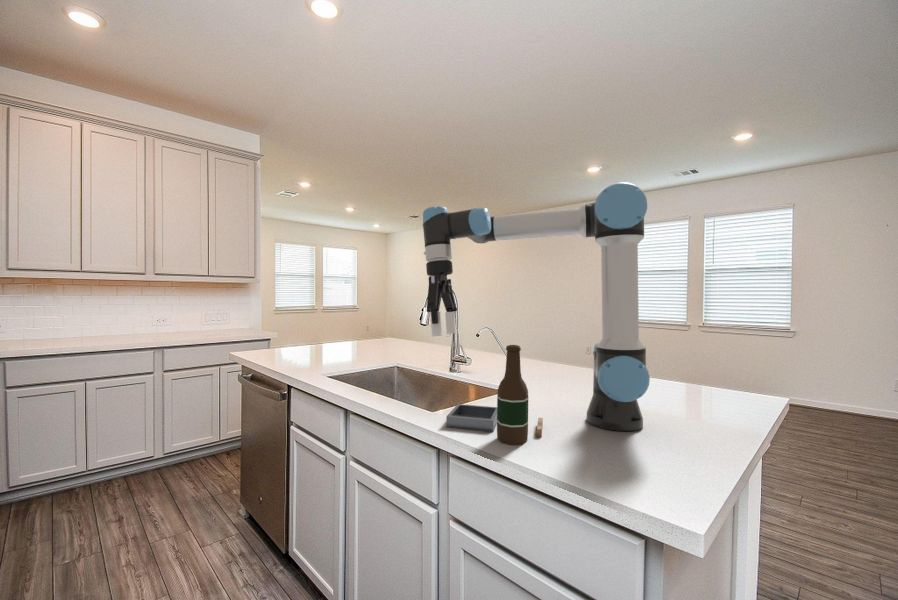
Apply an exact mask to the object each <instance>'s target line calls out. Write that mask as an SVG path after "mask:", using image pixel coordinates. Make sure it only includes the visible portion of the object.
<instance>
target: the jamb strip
mask: <svg viewBox="0 0 898 600" xmlns="http://www.w3.org/2000/svg"><path fill="white" fill-rule="evenodd" d="M543 422H544V419H543V417H538V419H537V425H536V438H542V434H543Z"/></svg>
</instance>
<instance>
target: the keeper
mask: <svg viewBox="0 0 898 600" xmlns="http://www.w3.org/2000/svg"><path fill="white" fill-rule="evenodd" d="M445 425H446V426H445V427H446V428H452V429H460V430H469V431H470V430H471V431H481V432H491V433H493V432H494V431H495V429H496V428H497V406H487V405H474V404H473V405H471V404H462V403H457V404H456V405H455V406H454V407H453V408H452V410H451V411H450V412H449V413H448V414H447V415H446V423H445Z"/></svg>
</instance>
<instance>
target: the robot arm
mask: <svg viewBox="0 0 898 600" xmlns="http://www.w3.org/2000/svg"><path fill="white" fill-rule="evenodd" d="M647 211H648V200H647V197H646V194H645V193H644V191H643V190H642V189H641V188H640V187H639V186H638V185H635V184H633V183H630V182H624V181H623V182H617V183H613V184H611V185H608V186H607V187H605V188H604V189H603V190H602V191H601V192H600V193H599V195H598V196H597V197H596V200H595V202H592V203H583V204H582V205H581V206H580V207H577V208H566V209H556V210H547V211H546V210H545V211H536V212H526V213H516V214H514V213H513V214H505V215H495V216H491V215H490V211H489V210H488V208H486V207H473V208H471V209H466V210H459V211H454V212H449V211H448V208H446V207H445V206H441V205H439V206H436V205H435V206H429V207H427V208H425V209H424V210H423V212H422V229H423V240H424V241H423V242H424V252H423V255H424V256H425V261H426V264H425V266H426V267H425V269H426V275H427V276H428V290H427V302H426V312H427V313H430V326H431V337H441V336H443V326H442V324H443V323H442V315H441V314H442V312H441V311H440V308H441V301H442V302H443V306H444V308H445V311H446V312H445V314H444V315H445V326H446V327H445V328H446V334H447V335H449V334H456V333H457V328H456V326H457V325H456V315H455V312H458V308H457V305H456V300H455V296H454V295H455V294H454V292H453V291H454V290H453V286H452V279H451V278H449V279H448V275H452V274H453V272H454V271H453V262H452V259H453V255H452V248H451V247H452V246H451V240H456V239H462V238H463V239H465V238H468V239H469V240H471V241H472V242H473V243H476V244H480V245H481V244H486V243H489V242H495V241H507V240H509V241H510V240H520V239H536V238H546V237H548V238H550V237H560V236H561V237H562V236H575V235H576V236H578V235H581V236H582V237H583V238H594V242H596V243H597V244H598V245H599V246H600V249H601V250H600V252H601V254H600V255H601V258H600V261H601V264H600V265H601V321H602V323H601V326H602V329H601V330H602V332H601V333H602V339H601V340H600V341H599V342H598V343H597V342H596V344H594V347H593V352H592V353H593V379H592V380H593V385H592V386H593V388H592V392H593V393H592V397H591V399H590V402H589V405H588V408H587V409H586V417H585V418H586V422H588V423H589V424H590V425H593V426H594V427H597V428H601V429H605V430H609V431H617V432H633V431H634V432H635V431H639V430H641V429H643V427H644V417H643V414H642V411H641V408H640V405H639V401H638V399H640V398H642V397H643V396H644V395H645V394H646V393H647V391H648V389H649V386H650V381H651V380H650V378H651V377H650V374H649V370H648V368H647V356H646V355H647V354H646V353H647V351H646V349H647V348H646V345H644V343H643V342H642V341H641V340H640V335H639V334H640V328H639V327H640V326H639V324H640V321H639V317H640V316H639V313H640V312H639V259H638V258H639V253H638V252H639V248H638V247H639V246H638V245H639V244H640V243H641V242H642V241H643V239H644V238H645V216H646V214H647Z"/></svg>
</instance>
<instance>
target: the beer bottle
mask: <svg viewBox="0 0 898 600" xmlns="http://www.w3.org/2000/svg"><path fill="white" fill-rule="evenodd" d="M505 350H506V360H505V361H506V362H505V373H504V376H503V378H502V380H500V383H499V385H498V388H497V396H496V398H497V399H496V403H497V404H496V405H497V406H496V407H497V425H496V437H497V439H498V441H499V442H500V443H501V444H505V445H509V446H520V445H524V444H525V443H526V442H527V441H528V436H529V390H528V387H527V386H528V385H527V384H526V382H525V380H524V379H523V377H522V371H521V370H522V369H521V367H522V366H521V353H520V352H521V351H522V348H521V346H520V345H519V344H509V345H506V347H505Z"/></svg>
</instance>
